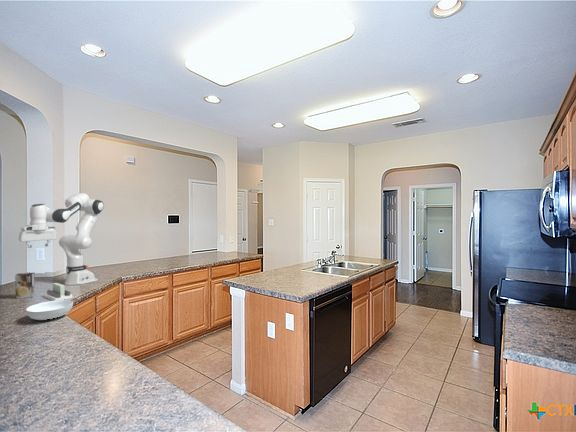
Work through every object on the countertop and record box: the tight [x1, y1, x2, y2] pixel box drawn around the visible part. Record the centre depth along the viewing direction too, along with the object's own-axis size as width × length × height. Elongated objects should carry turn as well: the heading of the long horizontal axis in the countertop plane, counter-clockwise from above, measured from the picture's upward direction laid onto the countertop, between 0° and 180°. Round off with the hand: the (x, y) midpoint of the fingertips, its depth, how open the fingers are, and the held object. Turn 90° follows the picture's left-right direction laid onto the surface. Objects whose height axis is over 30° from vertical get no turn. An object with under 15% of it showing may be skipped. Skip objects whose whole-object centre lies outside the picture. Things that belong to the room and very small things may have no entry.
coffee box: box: [14, 272, 36, 300], centre depth 202 cm, size 9×6×16 cm
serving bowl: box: [25, 299, 74, 321], centre depth 167 cm, size 21×21×7 cm
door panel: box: [52, 282, 66, 296], centre depth 202 cm, size 2×12×7 cm, turn 58°
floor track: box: [44, 289, 73, 301], centre depth 202 cm, size 10×17×4 cm, turn 58°
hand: (38, 247), depth 204 cm, fingers open, 8 cm apart
